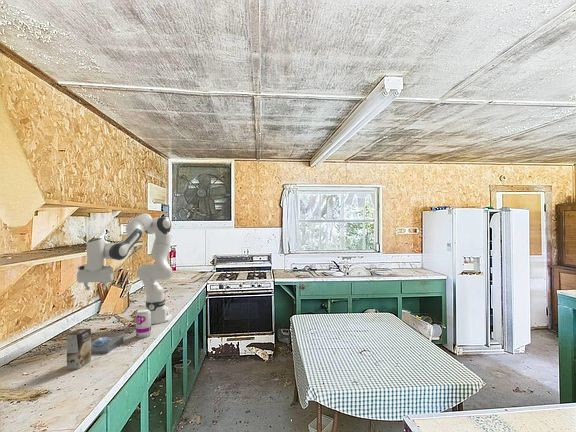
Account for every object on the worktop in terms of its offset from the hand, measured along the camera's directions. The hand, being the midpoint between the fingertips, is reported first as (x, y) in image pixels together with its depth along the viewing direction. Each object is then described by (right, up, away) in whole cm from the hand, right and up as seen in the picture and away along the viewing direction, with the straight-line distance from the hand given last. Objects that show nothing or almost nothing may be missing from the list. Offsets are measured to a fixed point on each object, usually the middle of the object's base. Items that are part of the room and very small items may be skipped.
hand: (95, 289), depth 197 cm
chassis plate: (+11, -29, -13) cm, 33 cm away
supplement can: (+26, -29, +5) cm, 39 cm away
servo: (+11, -28, -14) cm, 34 cm away
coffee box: (+12, -29, -35) cm, 46 cm away
